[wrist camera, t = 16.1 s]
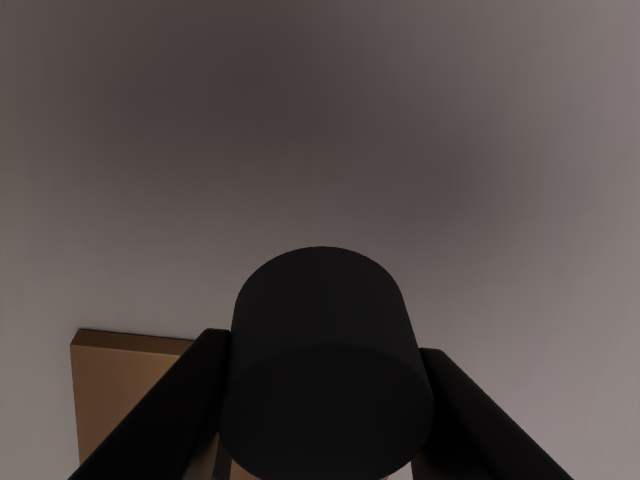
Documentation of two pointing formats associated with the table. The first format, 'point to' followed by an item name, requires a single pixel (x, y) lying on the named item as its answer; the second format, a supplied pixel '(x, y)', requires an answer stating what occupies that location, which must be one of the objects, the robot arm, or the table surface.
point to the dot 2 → (323, 371)
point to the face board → (119, 382)
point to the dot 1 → (222, 463)
